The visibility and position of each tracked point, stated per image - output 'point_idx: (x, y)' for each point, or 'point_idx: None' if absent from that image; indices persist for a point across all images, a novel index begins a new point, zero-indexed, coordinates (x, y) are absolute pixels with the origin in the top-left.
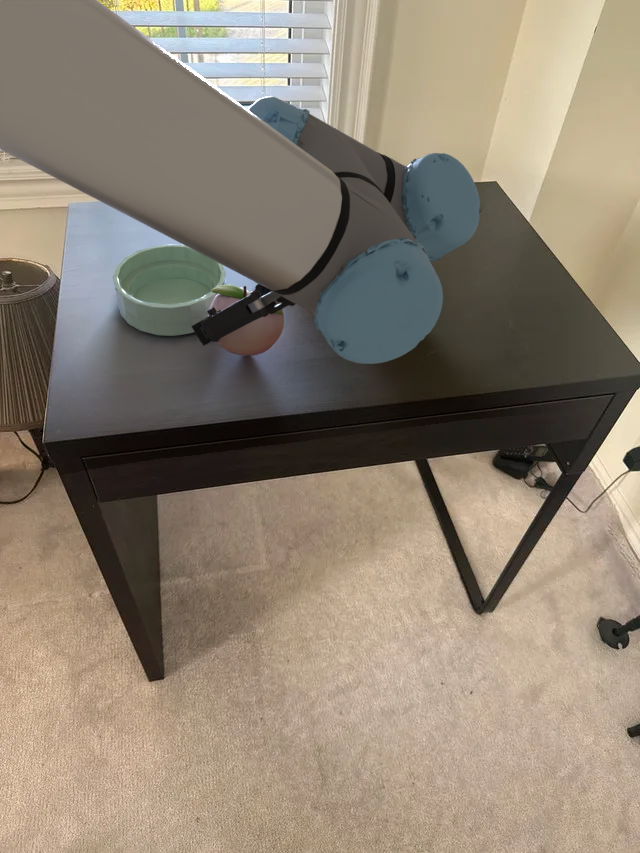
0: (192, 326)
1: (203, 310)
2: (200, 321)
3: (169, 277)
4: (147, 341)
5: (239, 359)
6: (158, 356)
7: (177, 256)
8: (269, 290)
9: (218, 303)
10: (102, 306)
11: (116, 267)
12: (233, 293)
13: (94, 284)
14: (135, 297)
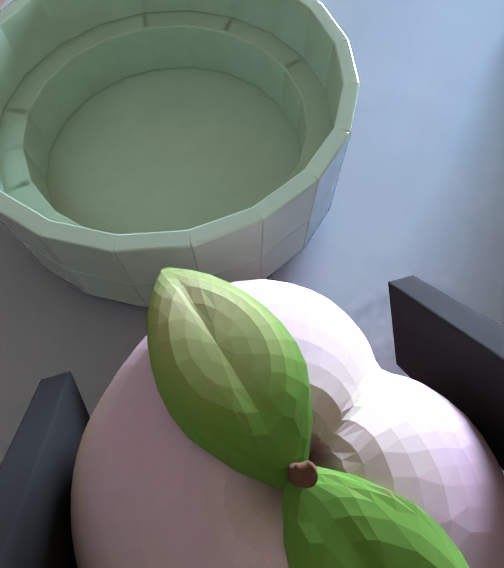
0: (39, 387)
1: None
2: (12, 445)
3: (217, 69)
4: (22, 271)
5: None
6: (5, 350)
7: (250, 10)
8: (495, 393)
9: (125, 411)
10: None
11: None
12: (220, 428)
13: None
14: (93, 103)
